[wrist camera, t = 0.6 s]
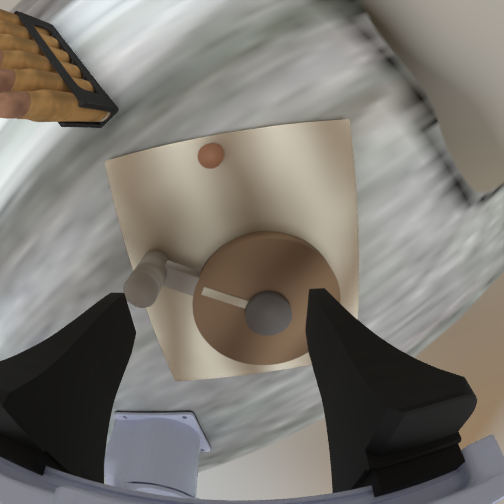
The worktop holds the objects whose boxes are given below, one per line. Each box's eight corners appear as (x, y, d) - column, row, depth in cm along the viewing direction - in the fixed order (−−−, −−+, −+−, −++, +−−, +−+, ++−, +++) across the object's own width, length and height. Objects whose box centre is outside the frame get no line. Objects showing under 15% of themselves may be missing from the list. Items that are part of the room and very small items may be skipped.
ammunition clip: (119, 110, 18) (-1, 101, 6) (100, 128, 18) (-25, 141, 7) (52, 24, 14) (-53, -14, 3) (36, 41, 14) (-72, 16, 3)
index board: (176, 373, 26) (172, 397, 23) (110, 159, 19) (91, 164, 16) (352, 348, 26) (362, 370, 23) (344, 119, 18) (360, 118, 16)
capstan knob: (358, 260, 21) (381, 288, 17) (298, 364, 24) (306, 400, 20) (162, 188, 18) (143, 204, 15) (130, 314, 22) (113, 348, 18)
